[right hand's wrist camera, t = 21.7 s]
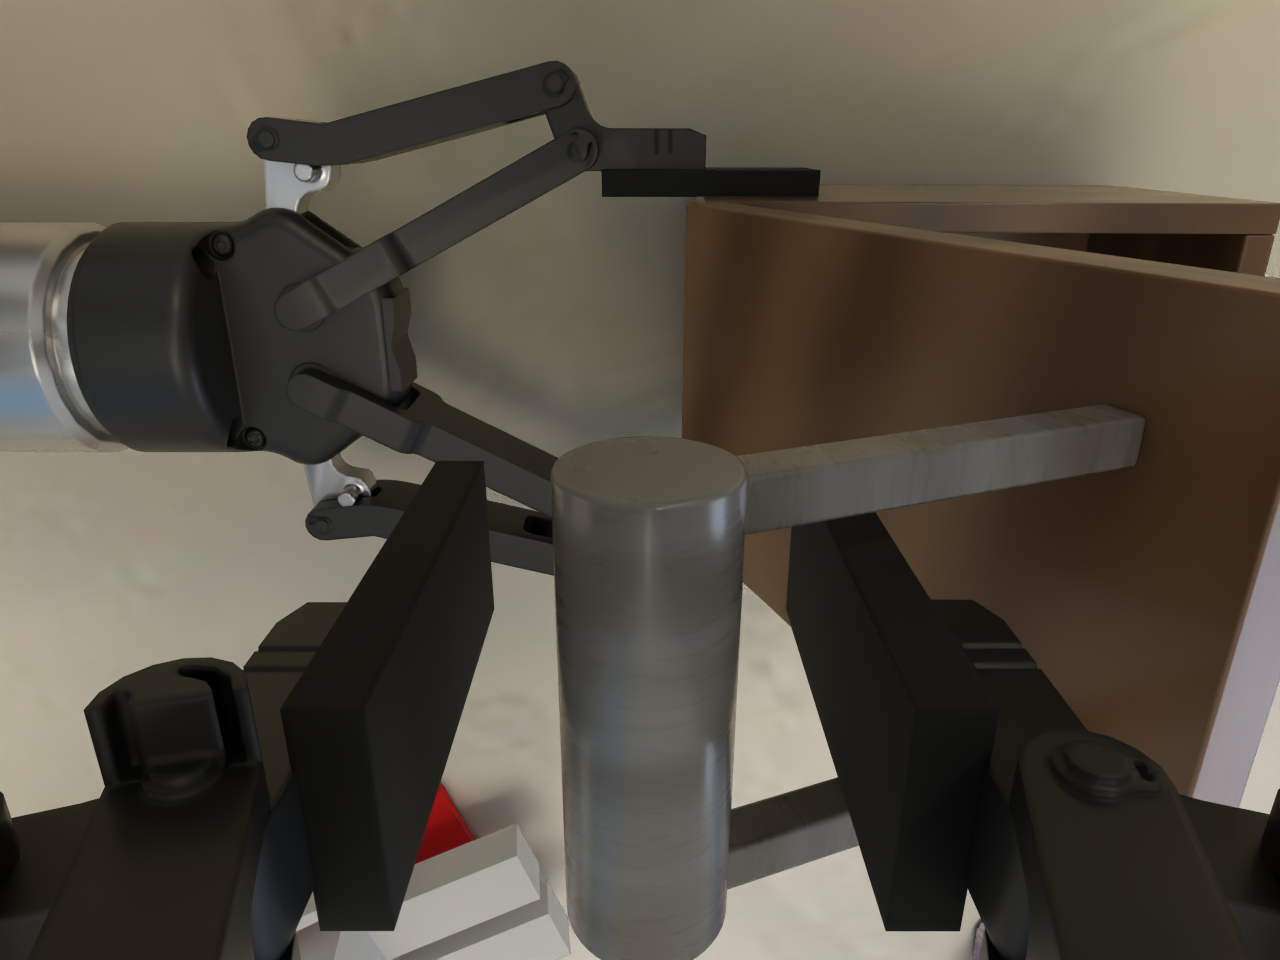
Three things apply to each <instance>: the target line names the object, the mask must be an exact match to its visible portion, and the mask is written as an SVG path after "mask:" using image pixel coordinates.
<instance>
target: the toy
mask: <svg viewBox="0 0 1280 960" xmlns="http://www.w3.org/2000/svg"><path fill="white" fill-rule="evenodd" d="M296 934H297V939H298V944H299V950H300V957H301V960H557V959H560V958H562V957H565V956H567V955H570V954H571V953H570V938H569V923H568V917H567V915H566V913H565V911H564V909H563V908H562V906H561V904H560V902H559V900H558V898H557V896H556V895H555V893H554V891H553V889H552V887H551V885H550V883H549V882H548V880H547V879H546V880H543V881H541V882H540V872H539V863H538V861H537V859H536V857H535V856H534V854H533V852H532V850H531V848H530V846H529V844H528V843H527V841H526V839H525V837H524V835H523V833H522V831H521V830H520V828H519V826H518V824H517V823H515V824H513V825H511V826H508V827H506V828H503V829H501V830H498V831H496V832H493V833H491V834H488V835H486V836H483V837H481V838H478V839H476V840H475V839H474V837H473V835H472V834H471V832H470V830H469V829H468V827H467V825H466V824H465V822H464V820H463V819H462V817H461V815H460V814H459V812H458V810H457V809H456V807H455V805H454V804H453V802H452V800H451V799H450V797H449V795H448V794H447V792H446V790H445V789H444V787H443V785H442V784H440V785H439V788H438V791H437V795H436V798H435V801H434V804H433V808H432V811H431V814H430V817H429V820H428V824H427V827H426V830H425V833H424V836H423V840H422V843H421V846H420V849H419V853H418V856H417V859H416V862H415V865H414V869H413V872H412V875H411V878H410V882H409V885H408V888H407V891H406V894H405V898H404V901H403V904H402V907H401V911H400V914H399V917H398V920H397V923H396V927H395V930H394V931H320V927H319V922H318V916H317V911H316V905H315V900H314V894H313V892H312V894H311V897H310V899H309V901H308V903H307V906H306V908H305V910H304V913H303V915H302V917H301V919H300V922H299V924H298V926H297V929H296Z"/></svg>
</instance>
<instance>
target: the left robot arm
mask: <svg viewBox="0 0 1280 960" xmlns="http://www.w3.org/2000/svg"><path fill="white" fill-rule="evenodd" d="M545 114H546V117H547V120H548V122H549V125H550V128H551V130H552V133H553V136H554V138H555V139H554V140H552V141H550V142H548V143H547V144H545V145H543V146H542V147H540V148H538V149H536V150H535V151H533V152H531V153H529V154H528V155H526V156H524V157H522V158H521V159H519V160H517V161H515V162H514V163H512V164H510V165H508V166H507V167H505V168H503V169H502V170H500V171H498V172H496V173H495V174H493V175H491V176H489V177H488V178H486V179H484V180H482V181H481V182H479V183H477V184H475V185H474V186H472V187H470V188H468V189H467V190H465V191H463V192H462V193H460V194H458V195H456V196H455V197H453V198H451V199H449V200H448V201H446V202H444V203H442V204H441V205H439V206H437V207H435V208H434V209H432V210H430V211H428V212H427V213H425V214H423V215H422V216H420V217H418V218H416V219H415V220H413V221H411V222H409V223H408V224H406V225H404V226H402V227H401V228H399V229H397V230H395V231H394V232H392V233H390V234H388V235H386V236H384V237H382V238H380V239H378V240H377V241H375V242H373V243H371V244H370V245H368V246H366V247H364V248H362V247H361V246H359V245H358V244H356V243H355V242H354V241H352V240H351V239H349V238H348V237H346V236H345V235H343V234H342V233H340V232H339V231H338V230H336V229H335V228H333V227H332V226H330V225H329V224H327V223H326V222H324V221H323V220H322V219H320V218H319V217H317V216H316V215H314V214H313V213H311V212H310V211H308V202H309V200H310V198H311V196H312V195H313V194H314V193H316V192H318V191H321V190H327V189H330V188H332V187H334V186H335V185H336V184H337V183H338V181H339V179H340V173H341V166H340V165H346V164H357V163H365V162H370V161H375V160H379V159H383V158H387V157H390V156H394V155H398V154H401V153H405V152H409V151H412V150H416V149H420V148H423V147H427V146H431V145H434V144H438V143H442V142H445V141H449V140H453V139H456V138H460V137H464V136H468V135H471V134H475V133H479V132H482V131H486V130H490V129H493V128H497V127H501V126H504V125H508V124H512V123H515V122H519V121H523V120H526V119H530V118H534V117H537V116H541V115H545ZM247 139H248V144H249V146H250V148H251V149H252V151H253V153H255V154H256V155H257V156H258V157H260V158H261V159H263V162H264V182H265V203H266V209H265V210H262V211H260V212H258V213H257V214H255V215H254V216H252V217H251V218H249V219H247V220H245V221H243V222H122V223H117V224H114V225H111V226H109V227H108V228H107V227H105V226H102V225H99V224H96V223H93V222H0V451H24V452H119V451H122V450H124V449H127V448H131V449H134V450H137V451H142V452H247V451H270V452H274V453H277V454H280V455H283V456H285V457H287V458H289V459H291V460H293V461H295V462H298V463H301V464H304V468H305V471H306V475H307V479H308V483H309V487H310V491H311V495H312V498H313V502H314V508H313V509H312V510H311V512H310V513H309V514H308V515H307V518H306V520H305V522H306V528H307V530H308V532H309V533H310V534H311V535H312V536H313V537H315V538H317V539H319V540H335V539H346V538H356V537H367V536H377V537H381V538H386V539H388V537H389V536H390V534H391V533H392V531H393V529H394V528H395V526H396V525H397V523H398V522H399V520H400V518H401V517H402V515H403V514H404V512H405V511H406V509H407V507H408V506H409V504H410V503H411V501H412V499H413V498H414V496H415V495H416V493H417V492H418V490H419V488H420V487H421V485H418V484H414V483H409V482H403V481H397V480H376V479H375V477H374V475H373V472H372V471H370V470H369V469H364V468H359V467H353V466H351V465H349V464H347V463H346V462H345V461H344V460H343V459H342V457H341V455H340V452H341V451H343V450H344V449H345V448H347V447H348V446H349V445H351V444H352V443H353V442H355V441H356V440H357V439H359V438H360V437H361V436H366V437H368V438H370V439H372V440H374V441H376V442H378V443H380V444H383V445H385V446H387V447H389V448H391V449H393V450H395V451H398V452H401V453H405V454H412V453H414V454H418V455H420V456H422V457H424V458H427V459H429V460H431V461H433V462H435V463H436V461H484V470H485V484H486V487H488V488H490V489H492V490H494V491H496V492H499V493H501V494H503V495H505V496H507V497H509V498H511V499H513V500H515V501H518V502H520V503H522V504H524V505H526V506H528V507H530V508H532V509H535V510H537V511H539V512H537V511H532V510H528V509H524V508H519V507H515V506H510V505H506V504H502V503H497V502H493V501H488V500H487V513H488V527H489V541H490V556H491V562H495V563H499V564H504V565H508V566H513V567H517V568H522V569H526V570H531V571H535V572H540V573H545V574H549V575H554V555H553V529H552V503H551V477H550V476H551V470H552V468H553V466H554V464H555V462H556V461H557V460H558V458H557V457H555V456H553V455H551V454H549V453H547V452H545V451H543V450H541V449H539V448H536V447H534V446H532V445H530V444H528V443H526V442H524V441H522V440H520V439H518V438H516V437H514V436H512V435H510V434H508V433H506V432H504V431H502V430H499V429H497V428H495V427H493V426H491V425H489V424H487V423H485V422H483V421H481V420H479V419H477V418H475V417H473V416H471V415H469V414H467V413H465V412H462V411H460V410H458V409H456V408H454V407H452V406H450V405H448V404H446V403H445V402H444V401H443V400H442V399H441V397H440V396H439V395H437V394H436V393H434V392H432V391H430V390H428V389H426V388H424V387H422V386H420V385H418V384H416V383H414V382H413V381H414V380H415V379H416V378H417V369H416V359H415V354H414V351H413V348H412V346H411V343H410V340H409V338H408V335H407V330H408V324H409V319H410V313H411V306H410V296H409V288H404V287H403V285H402V283H401V281H400V279H399V277H398V276H400V275H402V274H404V273H405V272H407V271H409V270H411V269H412V268H414V267H416V266H418V265H420V264H421V263H423V262H425V261H427V260H428V259H430V258H432V257H434V256H436V255H437V254H439V253H441V252H443V251H444V250H446V249H448V248H450V247H451V246H453V245H455V244H457V243H459V242H460V241H462V240H464V239H466V238H467V237H469V236H471V235H473V234H475V233H476V232H478V231H480V230H482V229H483V228H485V227H487V226H489V225H490V224H492V223H494V222H496V221H498V220H499V219H501V218H503V217H505V216H506V215H508V214H510V213H512V212H514V211H515V210H517V209H519V208H521V207H522V206H524V205H526V204H528V203H529V202H531V201H533V200H535V199H537V198H538V197H540V196H542V195H544V194H545V193H547V192H549V191H551V190H553V189H554V188H556V187H558V186H560V185H561V184H563V183H565V182H567V181H568V180H570V179H572V178H574V177H576V176H577V175H579V174H581V173H583V172H584V171H602V197H703V196H819V184H820V170H815V169H809V168H705V163H706V135H703V134H701V133H699V132H697V131H694V130H692V129H660V128H658V129H655V128H605V127H603V126H601V125H600V124H598V123H597V122H596V121H595V120H594V119H593V117H592V116H591V114H590V112H589V109H588V106H587V103H586V101H585V98H584V95H583V92H582V89H581V86H580V82H579V80H578V78H577V76H576V75H575V74H574V73H573V72H572V70H571V69H570V68H569V67H568V66H566V65H565V64H563V63H561V62H558V61H549V62H545V63H542V64H538V65H534V66H531V67H527V68H524V69H520V70H516V71H513V72H509V73H506V74H502V75H498V76H495V77H491V78H488V79H484V80H480V81H477V82H473V83H470V84H466V85H462V86H459V87H455V88H451V89H448V90H444V91H441V92H437V93H433V94H430V95H426V96H423V97H419V98H415V99H412V100H408V101H405V102H401V103H397V104H394V105H390V106H387V107H383V108H379V109H376V110H372V111H369V112H365V113H361V114H358V115H354V116H351V117H347V118H343V119H340V120H336V121H333V122H329V123H326V122H317V121H308V120H299V119H285V118H269V117H265V118H258V119H256V120H255V121H253V122H252V123H251V125H250V126H249V128H248V133H247Z"/></svg>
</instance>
